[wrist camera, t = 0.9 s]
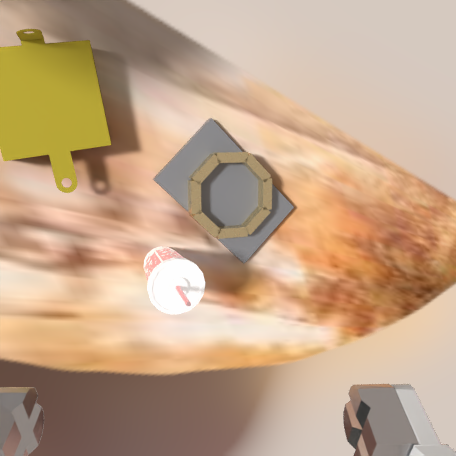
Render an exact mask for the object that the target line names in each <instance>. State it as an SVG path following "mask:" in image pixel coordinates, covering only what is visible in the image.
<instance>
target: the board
mask: <svg viewBox="0 0 456 456" xmlns="http://www.w3.org/2000/svg"><path fill="white" fill-rule="evenodd" d="M213 152H242V151H241V150H240V148H239V147H238V146H237V145H236V144H235V143H234V142H233V141H232V140H231V139H230V138H229V137H228V135H227V134H226V133H225V132H224V131H223V130H222V129H221V128H220V127H219V126H218V125H217V124H216V123H215V121H214V120H213V119H212V118H210V119H208V120H207V122H206V123H205V124H204V125H203V126H202V127H201V128H200V129H199V130H198V131H197V132H196V133H195V134H194V136H193V137H192V138H191V139H190V140H189V141H188V142H187V143H186V144H185V145H184V146H183V147H182V148H181V150H180V151H179V152H178V153H177V154H176V155H175V156H174V157H173V158H172V159H171V160H170V161H169V162H168V164H167V165H166V166H165V167H164V168H163V169H162V170H161V171H160V172H159V173H158V174H157V175H156V176H155V178H154V179H153V180H154V181H156V182H157V183H158V184H159V185H160V186H161V187H162V188H163V189H164V190H165V191H166V192H167V193H168V194H170V195H171V196H172V197H173V198H174V199H175V200H176V201H177V202H178V203H179V204H180V205H181V206H182V207H183V208H185V209H186V210H187V211H188V180H191V179H190V178H189V176H190V175H191V174H192V173H193V172H194V171H195V170H196V169H197V168H198V167H199V166H200V165H201V163H202V162H203V161H204V160H205V159H206V158H207V157H208V156H209V155H210V154H213ZM257 207H258V179H257V178H256V177H255V176H254V175H253V174H252V173H251V172H250V171H249V170H248V169H247V167H246V166H245V165H244V164H243V163H242V162H240V163H219V164H218V165H217V166H216V168H215V169H214V170H213V171H212V172H211V173H210V174H209V175H208V176H207V177H206V178H205V180H204V181H203V182H202V183H201V211H202V212H203V213H204V214H205V215H206V216H207V217H208V218H209V219H210V220H211V221H212V222H213V223H214V224H215V225H216V226H218V227H219V226H233V225H241V224H242V223H243V222H244V221H245V220H246V219H247V218H248V217H249V215H250V214H251V213H252V212H253V211H254V210H255V209H256V208H257ZM293 208H294V207H293V206H292V205H291V203H290V202H289V201H288V200H287V199H286V198H285V197H284V196H283V195H282V194H281V193H280V192H279V191H278V189H277V188H276V187H275V186H274V185H273V184H272V209H271V210H269V211H270V214H269V215H268V216H267V217H266V218H265V219H264V220H263V221H262V223H261V224H260V225H259V226H258V227H257V228H256V229H255V230H254V232H253V233H252V234H251V235H249V234H248V236H247V237H235V238H223V239H218V238H217V239H218V240H219V241H220V242H221V243H222V244H223V245H224V246H225V247H226V248H228V249H229V250H230V251H231V252H232V253H233V254H234V255H235V256H236V257H237V258H238V259H239V260H240V261H242V262H243V263H245V262H246V261H247V260H248V259H249V258H250V257H251V255H252V254H253V253H254V252H255V251H256V250H257V249H258V247H259V246H260V245H261V244H262V243H263V242H264V241H265V240H266V238H267V237H268V236H269V235H270V234H271V233H272V232H273V231H274V229H275V228H276V227H277V226H278V225H279V224H280V223H281V221H282V220H283V219H284V218H285V217H286V216H287V215H288V214H289V212H290V211H291V210H292V209H293ZM190 214H191V213H190Z"/></svg>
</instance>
